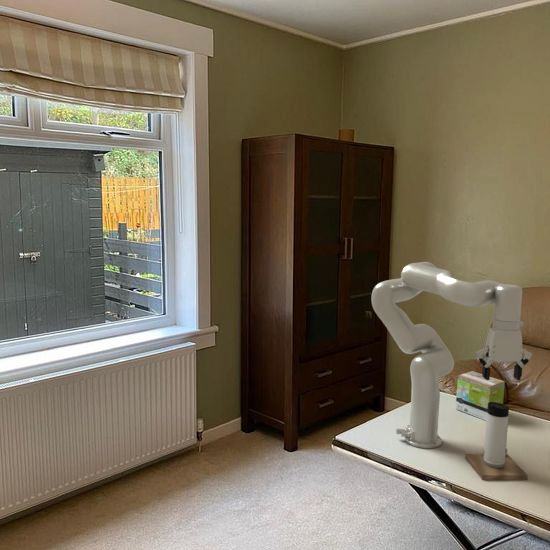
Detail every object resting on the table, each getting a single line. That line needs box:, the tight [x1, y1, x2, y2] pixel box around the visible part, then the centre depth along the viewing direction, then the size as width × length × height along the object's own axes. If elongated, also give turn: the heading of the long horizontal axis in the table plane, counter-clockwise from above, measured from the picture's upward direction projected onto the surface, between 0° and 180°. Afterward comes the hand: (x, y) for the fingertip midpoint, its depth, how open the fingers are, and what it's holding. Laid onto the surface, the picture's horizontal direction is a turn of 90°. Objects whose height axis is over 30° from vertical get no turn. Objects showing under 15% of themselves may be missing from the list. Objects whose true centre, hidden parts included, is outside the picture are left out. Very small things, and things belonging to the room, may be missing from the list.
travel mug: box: [483, 402, 510, 468], centre depth 175 cm, size 6×7×20 cm
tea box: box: [455, 370, 506, 422], centre depth 221 cm, size 15×10×15 cm
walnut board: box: [464, 448, 529, 481], centre depth 176 cm, size 14×14×4 cm
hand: (501, 378), depth 173 cm, fingers open, 9 cm apart
